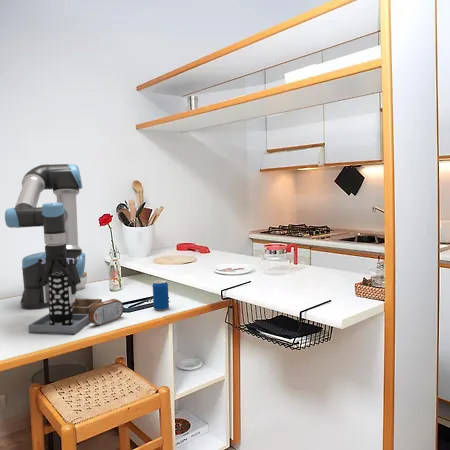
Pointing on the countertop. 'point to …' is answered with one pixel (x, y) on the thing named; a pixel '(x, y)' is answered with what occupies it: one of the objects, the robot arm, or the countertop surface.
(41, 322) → the tray
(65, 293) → the white-spotted black cylinder
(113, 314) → the tin
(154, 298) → the beverage can
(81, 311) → the holder
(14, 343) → the countertop surface
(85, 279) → the lidded jar
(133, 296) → the countertop surface
